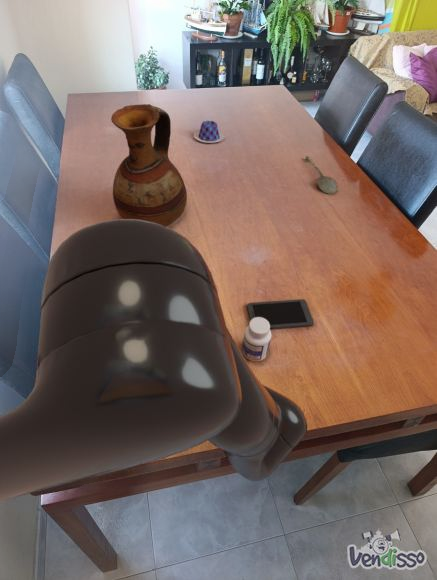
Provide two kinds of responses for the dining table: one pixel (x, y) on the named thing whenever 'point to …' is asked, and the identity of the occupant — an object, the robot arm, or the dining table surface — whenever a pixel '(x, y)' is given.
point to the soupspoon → (325, 181)
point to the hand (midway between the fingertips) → (119, 283)
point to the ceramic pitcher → (147, 168)
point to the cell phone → (282, 313)
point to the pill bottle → (257, 339)
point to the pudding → (209, 132)
